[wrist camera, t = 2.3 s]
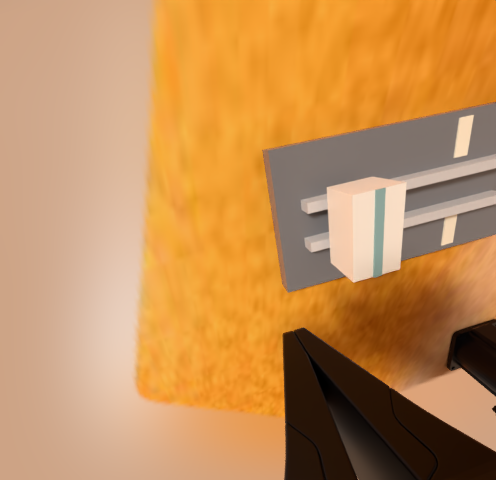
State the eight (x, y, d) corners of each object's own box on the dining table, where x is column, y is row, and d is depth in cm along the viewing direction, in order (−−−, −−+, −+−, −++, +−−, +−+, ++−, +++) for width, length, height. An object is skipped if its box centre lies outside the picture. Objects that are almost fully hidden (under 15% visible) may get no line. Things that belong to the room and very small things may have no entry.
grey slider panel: (482, 228, 25) (513, 237, 23) (282, 283, 23) (293, 300, 20) (509, 99, 21) (552, 92, 18) (262, 150, 18) (273, 150, 16)
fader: (358, 244, 21) (401, 270, 17) (321, 254, 20) (354, 283, 16) (358, 174, 18) (407, 182, 14) (316, 183, 18) (353, 195, 14)
